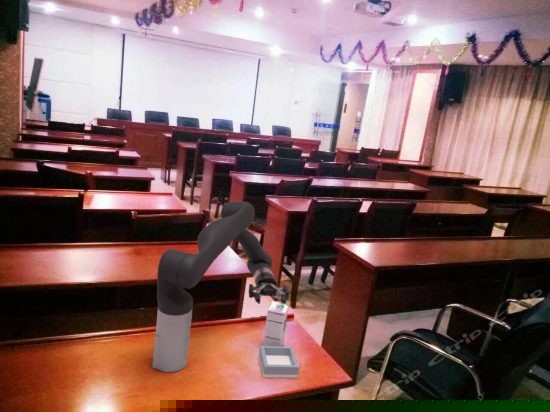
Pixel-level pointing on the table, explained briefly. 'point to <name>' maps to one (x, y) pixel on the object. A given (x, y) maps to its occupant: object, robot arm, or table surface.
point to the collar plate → (278, 362)
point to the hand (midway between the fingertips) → (271, 301)
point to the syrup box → (275, 324)
